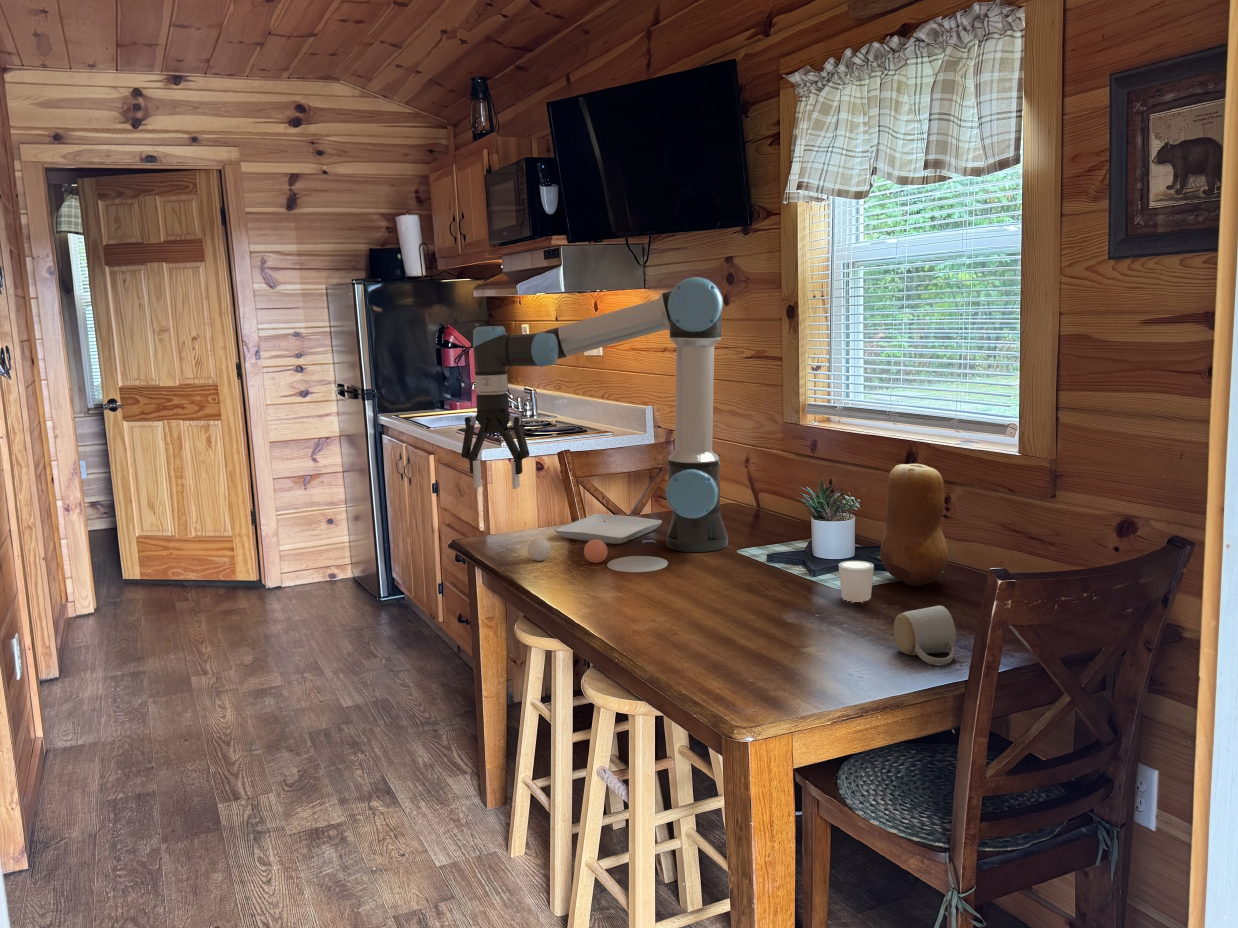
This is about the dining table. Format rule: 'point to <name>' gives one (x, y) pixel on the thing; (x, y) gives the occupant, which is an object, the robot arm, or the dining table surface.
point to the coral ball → (595, 551)
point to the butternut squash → (914, 525)
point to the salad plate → (608, 528)
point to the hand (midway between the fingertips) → (497, 487)
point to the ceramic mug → (926, 633)
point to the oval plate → (637, 564)
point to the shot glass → (856, 580)
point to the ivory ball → (539, 549)
